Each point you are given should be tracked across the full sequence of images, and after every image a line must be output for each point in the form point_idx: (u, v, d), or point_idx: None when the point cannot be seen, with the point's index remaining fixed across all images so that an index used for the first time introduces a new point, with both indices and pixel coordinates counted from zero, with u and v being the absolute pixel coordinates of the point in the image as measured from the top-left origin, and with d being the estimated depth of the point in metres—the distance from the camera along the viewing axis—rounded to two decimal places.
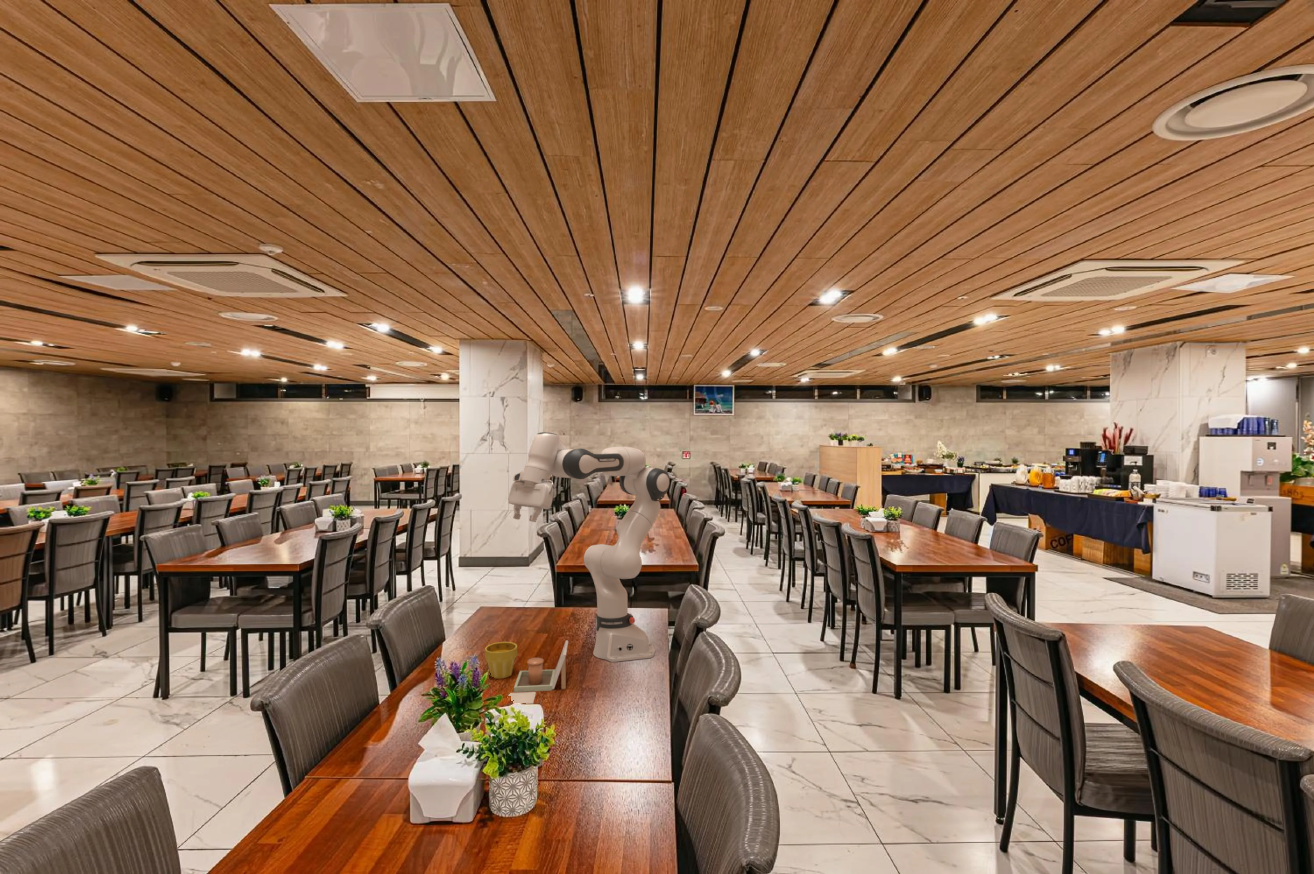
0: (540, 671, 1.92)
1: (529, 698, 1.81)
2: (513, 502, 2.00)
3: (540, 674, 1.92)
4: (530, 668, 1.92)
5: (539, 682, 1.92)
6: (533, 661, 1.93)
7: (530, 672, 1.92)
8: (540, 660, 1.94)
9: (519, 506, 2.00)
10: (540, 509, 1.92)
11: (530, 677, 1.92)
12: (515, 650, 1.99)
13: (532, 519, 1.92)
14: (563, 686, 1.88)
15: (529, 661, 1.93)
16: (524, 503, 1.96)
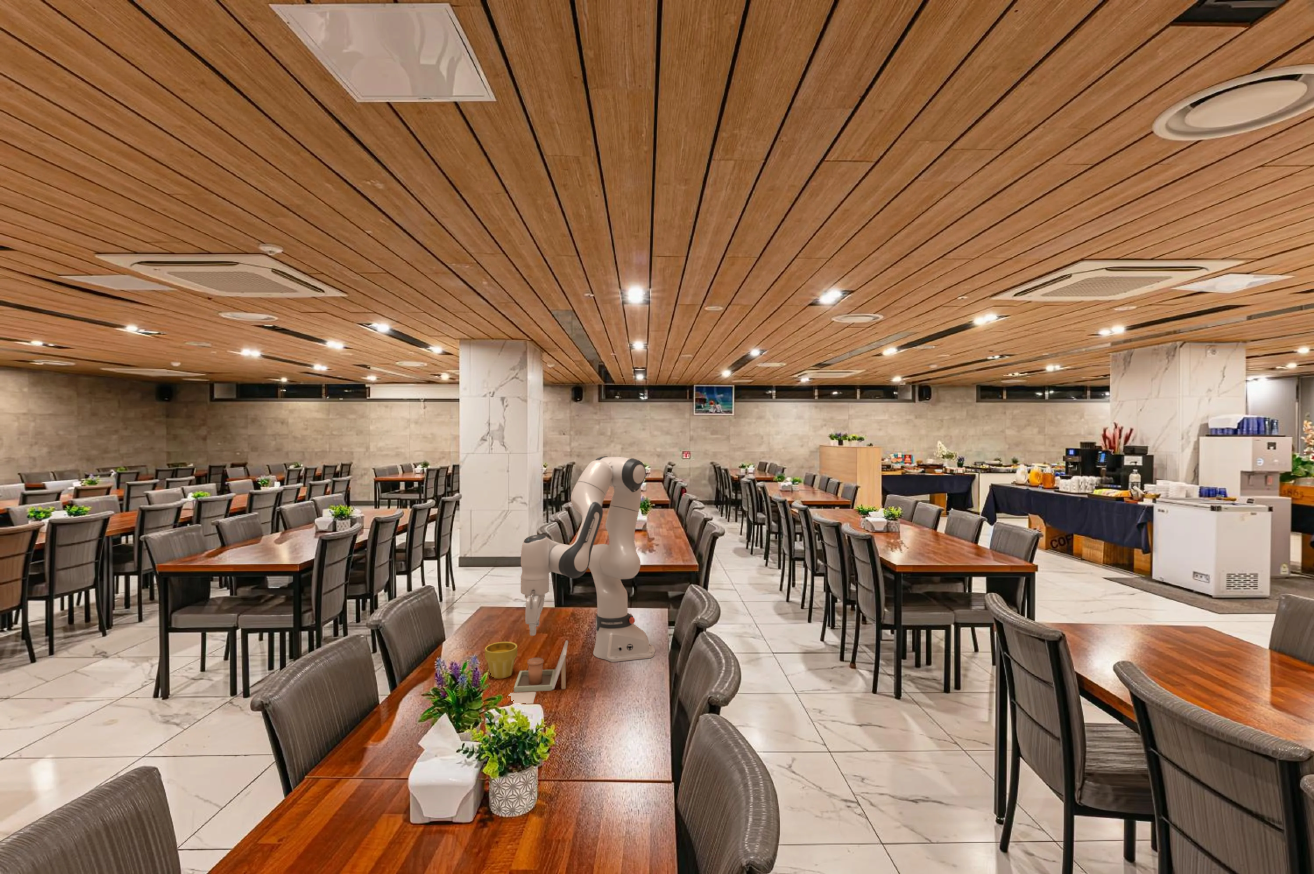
0: (540, 671, 1.92)
1: (529, 698, 1.81)
2: None
3: (540, 674, 1.92)
4: (530, 668, 1.92)
5: (539, 682, 1.92)
6: (533, 661, 1.93)
7: (530, 672, 1.92)
8: (540, 660, 1.94)
9: None
10: None
11: (530, 677, 1.92)
12: (515, 650, 1.99)
13: (530, 633, 1.88)
14: (563, 686, 1.88)
15: (529, 661, 1.93)
16: None
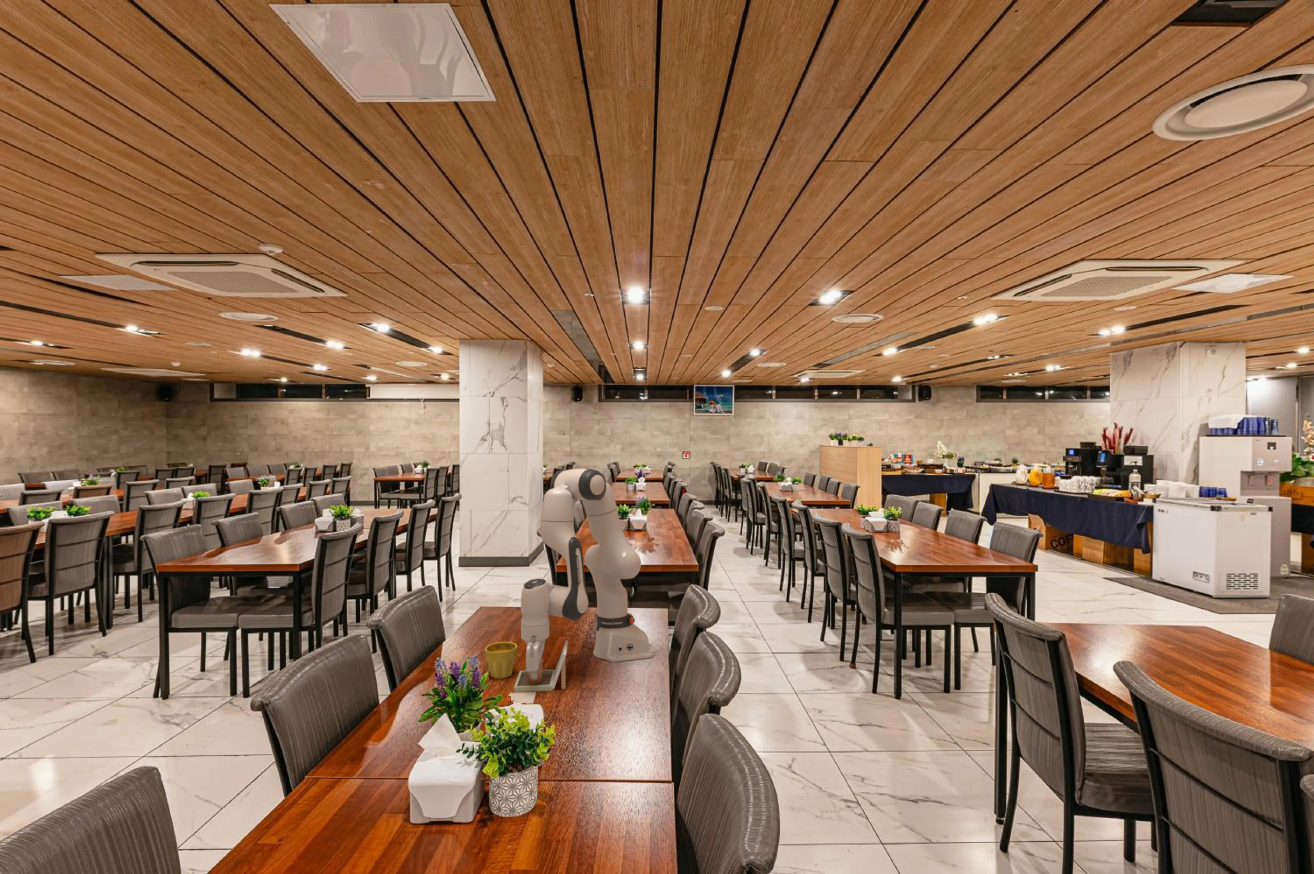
0: (540, 671, 1.92)
1: (529, 698, 1.81)
2: None
3: (540, 674, 1.92)
4: None
5: (539, 682, 1.92)
6: None
7: (530, 672, 1.92)
8: None
9: None
10: None
11: (530, 677, 1.92)
12: (515, 650, 1.99)
13: (532, 677, 1.90)
14: (563, 686, 1.88)
15: None
16: None
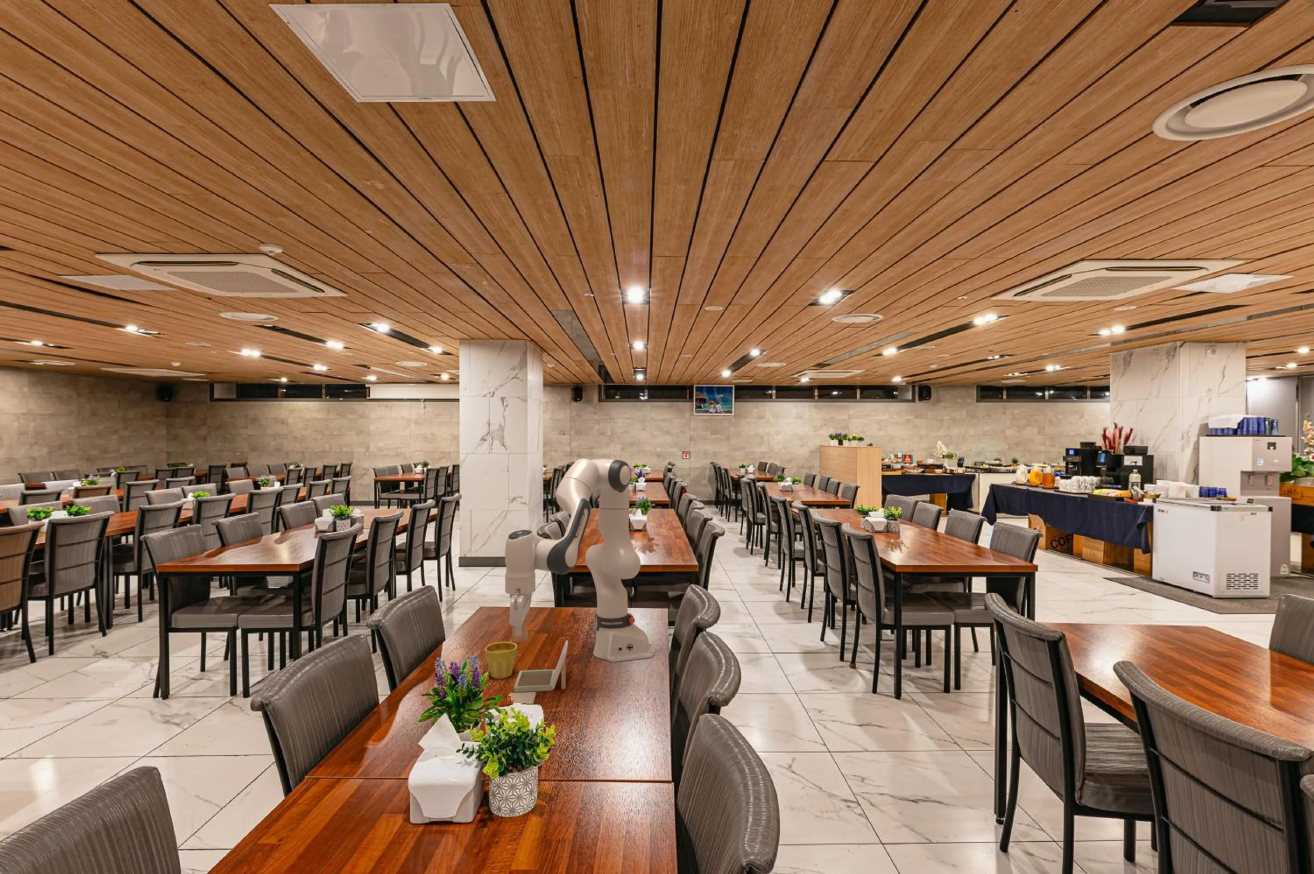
0: (525, 627, 1.80)
1: (529, 698, 1.81)
2: None
3: (525, 630, 1.80)
4: None
5: (524, 639, 1.80)
6: None
7: (514, 628, 1.80)
8: None
9: None
10: None
11: (514, 633, 1.80)
12: (515, 650, 1.99)
13: (516, 633, 1.78)
14: (563, 686, 1.88)
15: None
16: None
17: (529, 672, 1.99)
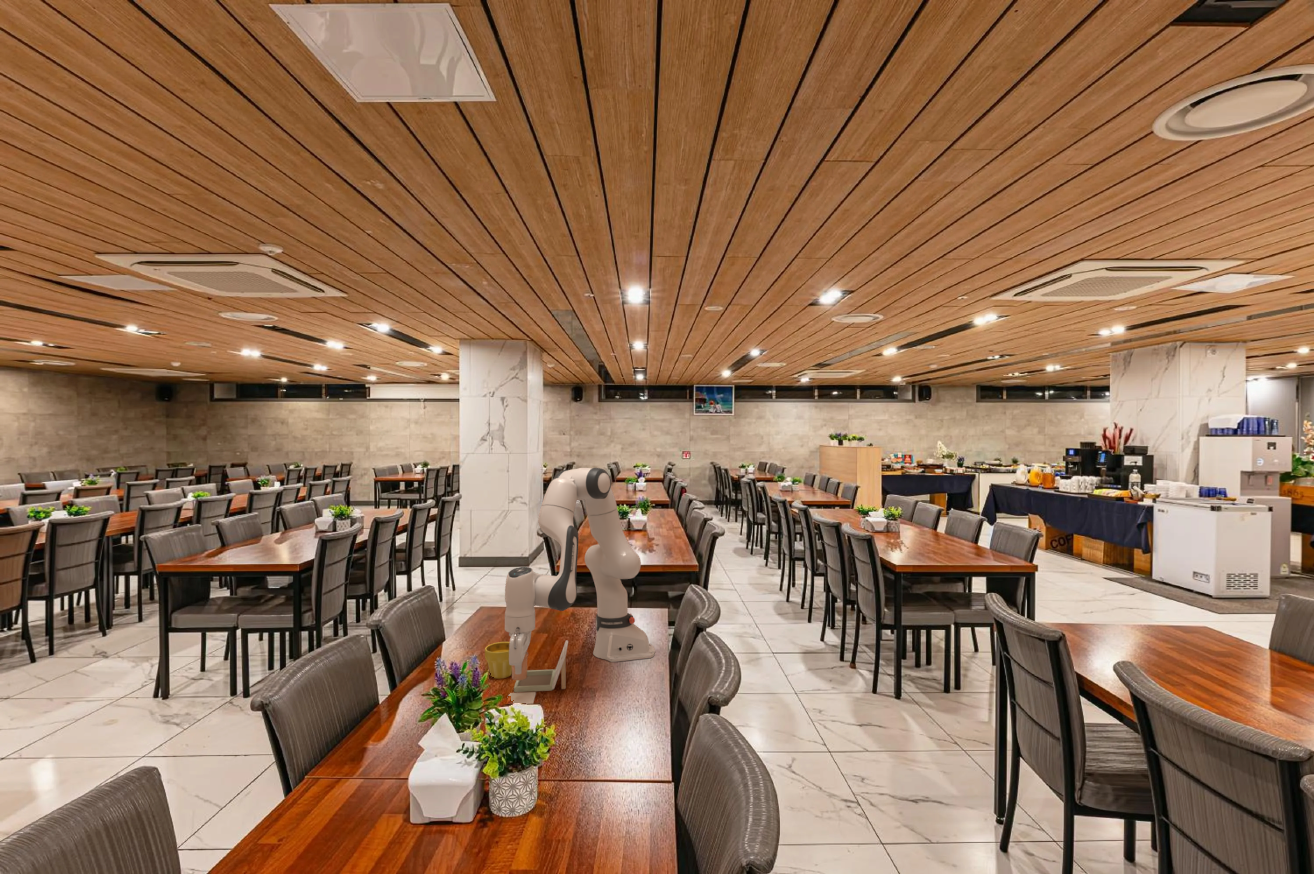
0: (524, 665, 1.80)
1: (529, 698, 1.81)
2: None
3: (524, 668, 1.80)
4: None
5: (523, 677, 1.80)
6: None
7: (514, 666, 1.80)
8: (525, 654, 1.81)
9: None
10: None
11: (514, 672, 1.80)
12: None
13: (516, 672, 1.78)
14: (563, 686, 1.88)
15: None
16: None
17: (529, 672, 1.99)
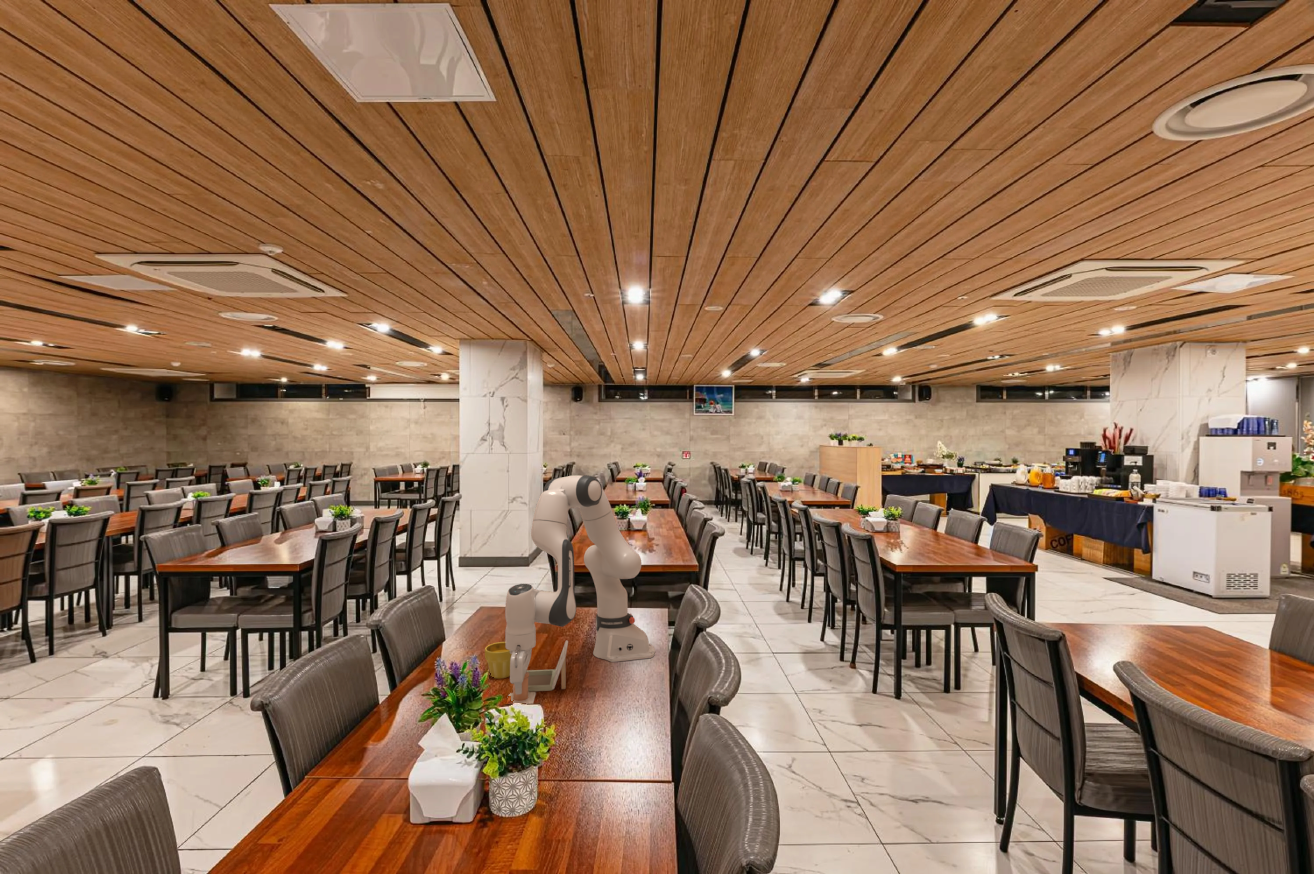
0: (525, 686, 1.80)
1: (529, 698, 1.81)
2: None
3: (525, 689, 1.80)
4: None
5: (524, 698, 1.80)
6: None
7: None
8: (526, 674, 1.81)
9: None
10: None
11: None
12: None
13: (516, 692, 1.76)
14: (563, 686, 1.88)
15: None
16: None
17: (529, 672, 1.99)
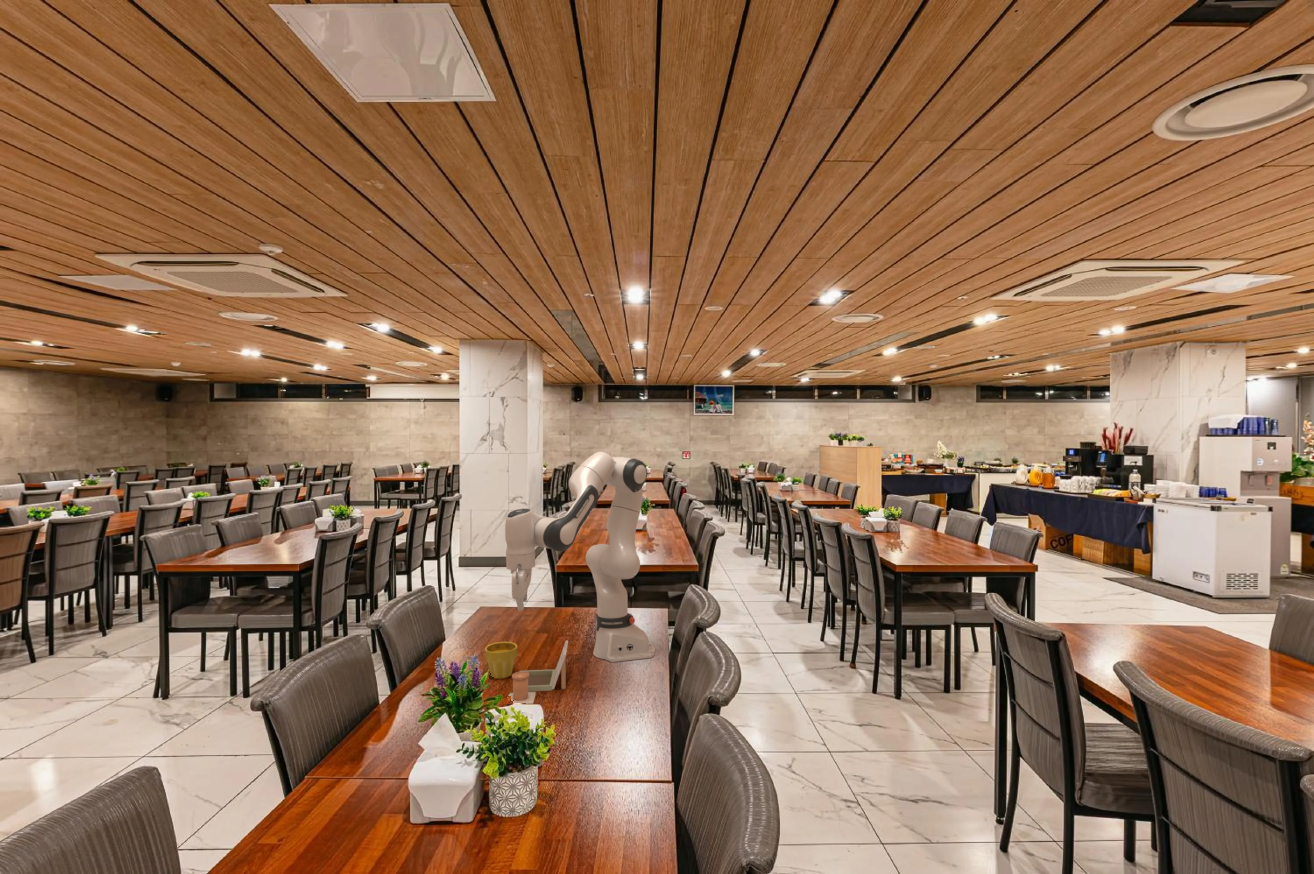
0: (525, 686, 1.80)
1: (529, 698, 1.81)
2: None
3: (525, 689, 1.80)
4: (515, 683, 1.80)
5: (524, 698, 1.80)
6: (519, 675, 1.81)
7: (515, 687, 1.80)
8: (526, 674, 1.81)
9: None
10: None
11: (515, 692, 1.80)
12: (515, 650, 1.99)
13: (518, 608, 1.85)
14: (563, 686, 1.88)
15: (514, 675, 1.81)
16: None
17: (529, 672, 1.99)
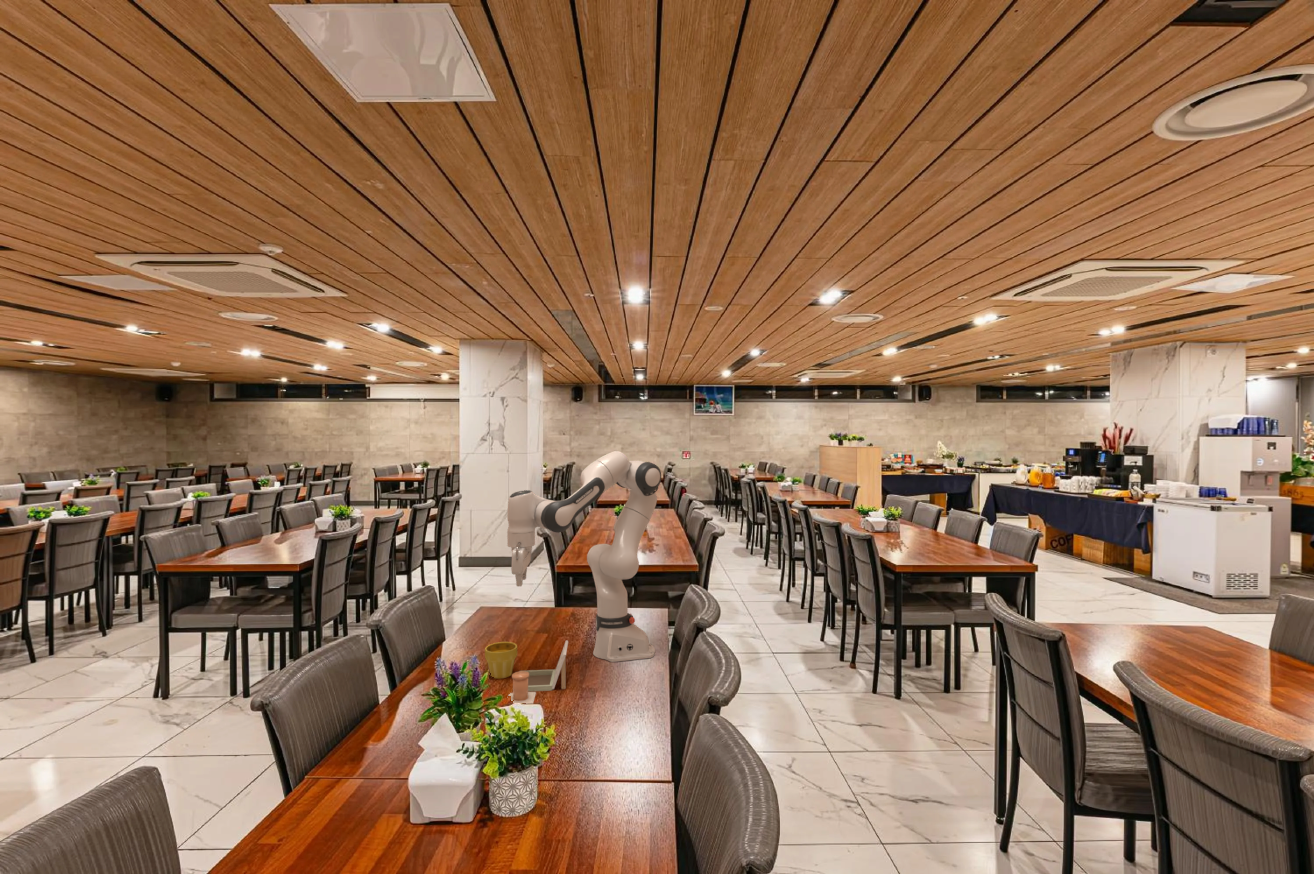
0: (525, 686, 1.80)
1: (529, 698, 1.81)
2: None
3: (525, 689, 1.80)
4: (515, 683, 1.80)
5: (524, 698, 1.80)
6: (519, 675, 1.81)
7: (515, 687, 1.80)
8: (526, 674, 1.81)
9: None
10: (520, 573, 1.93)
11: (515, 692, 1.80)
12: (515, 650, 1.99)
13: (517, 584, 1.94)
14: (563, 686, 1.88)
15: (514, 675, 1.81)
16: None
17: (529, 672, 1.99)
